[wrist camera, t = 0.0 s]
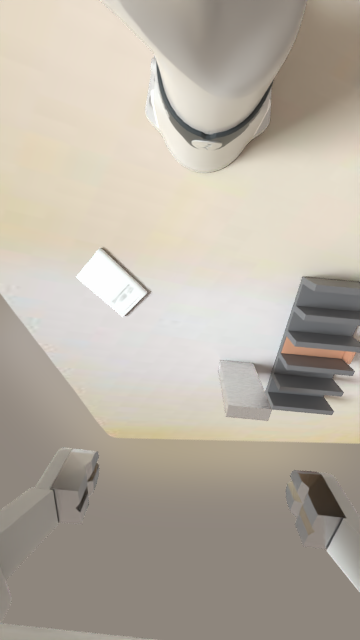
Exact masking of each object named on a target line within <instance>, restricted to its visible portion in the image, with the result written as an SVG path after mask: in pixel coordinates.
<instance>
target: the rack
mask: <svg viewBox="0 0 360 640" xmlns="http://www.w3.org/2000/svg"><path fill="white" fill-rule="evenodd" d="M357 326H360V282H354V281H343V280H332V279H321V278H310V277H302V280H301V283H300V286H299V289H298V292H297V295H296V299H295V302H294V305H293V308H292V311H291V314H290V317H289V320H288V323H287V326H286V329H285V333H284V336H283V339H282V342H281V345H280V348H279V351H278V354H277V357H276V360H275V363H274V367H273V370H272V373H271V376H270V379H269V382H268V385H267V388H266V391H265V393H266V396H267V398H268V400H269V403H270V405H271V408H272V409H273V410H284V411H294V412H305V413H316V414H326V415H332V414H333V412H334V411H333V409H332V408H331V407H330V405H329V404H328V403H327V401H326V400H325V398H324V395H332V396H342V395H343V393H344V392H343V391H342V390H341V388H340V387H339V386H338V385H337V384H336V383H335V381H334V380H333V379H332V378H333V376H334V374H338V375H349V376H353V374H354V372H355V371H354V370H353V369H352V368H351V367H350V366H349V365H348V364H350V363H351V361H352V359H353V357H354V355H355V354H356V352H359V353H360V342H359V341H357V340H356V339H355V338H354V337H352V336H353V334H354V332H355V330H356V328H357Z"/></svg>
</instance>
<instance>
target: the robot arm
mask: <svg viewBox="0 0 360 640" xmlns="http://www.w3.org/2000/svg"><path fill="white" fill-rule="evenodd" d="M99 1H100V2H101V3H103V4H104V5H105V6H106V7H107V8H108V9H109V10H110V11H111V12H112V13H114V14H115V15H116V16H117V17H118V18H119V19H120V20H121V21H122V22H123V23H124V24H125V25H126V26H127V27H128V28H129V29H130V30H131V31H132V32H133V33H134V34H135V35H136V36H137V37H138V38H139V39H140V40H141V41H142V42H143V43H144V44H145V45H146V46H147V47H148V48H149V50H150V51H151V52H152V53H153V54H154V58H152V61H151V77H150V83H149V90H148V96H147V102H146V109H145V111H146V117H147V119H148V121H149V122H150V123H151V124H152V125H153V126H154V127H155V128H156V129H157V130H158V131H159V132H160V133H161V135H162V137H163V139H164V141H165V143H166V145H167V147H168V149H169V151H170V152H171V154H172V155H173V157H174V158H175V159H176V160H177V161H178V162H179V163H180V164H181V165H183V166H184V167H186V168H188V169H190V170H192V171H195V172H201V173H209V172H214V171H218V170H220V169H222V168H224V167H226V166H227V165H229V164H230V163H231V162H233V161H234V160H235V159H236V158H237V157H238V156H239V154H240V153H241V152H242V151H243V149H244V148H245V146H246V145H247V144H248V143H249V142H250V141H251V140H252V139H254V138H255V137H257V136H258V135H260V134H261V133H262V132H264V131H265V130H266V128H267V127H268V125H269V122H270V114H271V91H272V84H273V80H274V78H275V76H276V74H277V73H278V71H279V70H280V68H281V66H282V65H283V63H284V61H285V60H286V58H287V56H288V54H289V52H290V50H291V48H292V46H293V44H294V42H295V39H296V37H297V34H298V31H299V29H300V26H301V22H302V19H303V15H304V12H305V8H306V3H307V0H99ZM98 458H99V455H98V452H97V451H89V450H81V449H73V448H64V447H61V448H60V449H59V450H58V452H57V453H56V455H55V456H54V458H53V459H52V461H51V463H50V464H49V466H48V467H47V469H46V471H45V472H44V474H43V475H42V477H41V479H40V480H39V482H38V483H37V485H36V487H35V488H30V489H28V490H27V491H26V492H24V493H23V494H22V495H20V496H19V497H18V498H16V499H15V500H14V501H12V502H11V503H10V504H8V505H7V506H5V507H4V508H3V509H1V510H0V640H156V639H146V638H137V637H127V636H117V635H108V634H98V633H97V634H96V633H87V632H78V631H69V630H58V629H49V628H40V627H30V626H20V625H10V624H1V623H2V621H3V619H4V617H5V615H6V613H7V611H8V609H9V607H10V604H11V602H12V600H11V594H10V591H9V588H8V585H7V582H6V580H7V579H8V578H9V577H10V576H11V575H12V574H13V573H14V571H15V570H16V569H17V568H18V567H19V566H20V565H21V564H22V563H23V562H24V561H25V560H26V558H27V557H28V556H29V555H30V554H31V553H32V552H33V551H34V550H35V549H36V548H37V547H38V546H39V545H40V544H41V542H42V541H43V540H44V539H45V538H46V537H47V536H48V535H49V534H50V533H51V532H52V531H53V530H54V528H55V527H56V526H57V525H58V523H72V524H82V521H83V519H84V516H85V513H86V511H87V508H88V506H89V496H90V495H91V494H92V493H93V492H94V490H95V487H96V484H97V480H98V476H99V465H98V463H97V460H98ZM290 477H291V479H292V481H290V482H289V483H288V484H287V487H286V499H287V504H288V507H289V509H290V511H291V512H292V514H293V515H294V516H295V517H296V523H295V525H296V528H297V531H298V533H299V536H300V539H301V541H302V544H303V546H305V547H313V548H321V549H327V552H328V553H329V555H330V556H331V557H332V558H333V560H334V561H335V562H336V563H337V565H338V566H339V567H340V568H341V570H342V571H343V572H344V573H345V575H346V576H347V577H348V579H349V580H350V581H351V582H352V584H353V585H354V586H355V587H356V588H357V590H358V591H359V592H360V517H359V515H358V513H357V512H356V510H355V508H354V507H353V505H352V504H351V502H350V501H349V499H348V497H347V496H346V494H345V492H344V491H343V489H342V488H341V486H340V484H339V483H338V481H337V479H336V478H335V477H334V476H333V475H332V474H329V473H318V472H311V471H298V470H294V471H292V473H291V475H290Z"/></svg>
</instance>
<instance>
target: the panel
mask: <svg viewBox="0 0 360 640" xmlns="http://www.w3.org/2000/svg"><path fill="white" fill-rule="evenodd" d="M218 373H219V379H220V385H221V391H222V397H223V403H224V408H225V414H226V417H233V418H244V419H254V420H265V421H268V420H269V417H270V414H271V411H272V408H271V405H270V403H269V400H268V398H267V396H266V393H265V391H264V388H263V386H262V384H261V381H260V379H259V376H258V374H257V371H256V369H255V367H254V364H253V363H246V362H235V361H224V360H220V362H219V367H218Z"/></svg>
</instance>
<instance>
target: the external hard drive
mask: <svg viewBox="0 0 360 640" xmlns="http://www.w3.org/2000/svg"><path fill="white" fill-rule="evenodd" d="M76 278H77V279H78V280H80V281H81V282H82V283H83V284H84V285H85V286H87V287H88V288H89V289H90V290H91V291H93V292H94V293H95V294H96V295H97V296H98V297H100V298H101V299H102V300H103V301H104V302H105V303H107V304H108V305H109V306H110V307H111V308H113V309H114V310H115V311H116V312H117V313H118V314H120V315H121V316H122V317H124V316H125V315H126V314H127V313H128V312H129V311H130V310H131V309H132V308H133V307H134V306H135V305H136V304H137V303H138V302H139V301H140V300H141V299H142V298H143V297H144V296H145V295H146V294H147V292H148V291H147V290H145V289H144V288H143V287H142V286H141V285H140V284H139V283H138V282H137V281H136V280H135V279H134V278H133V277H132V276H131V275H130V274H128V273H127V272H126V271H125V270H124V269H123V268H122V267H121V266H120V265H119V264H118V263H117V262H116V261H115V260H113V259H112V258H111V257H110V256H109V255H108V254H107V253H106V252H105V251H104V250H103V249H102V248H99V249H98V250H97V252H96V253H95V254H94V255H93V257H92V258H91V259H90V260H89V261H88V263H87V264H86V265H85V266H84V268H83V269H82V270H81V271H80V272H79V274H78V275H77V276H76Z"/></svg>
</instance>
